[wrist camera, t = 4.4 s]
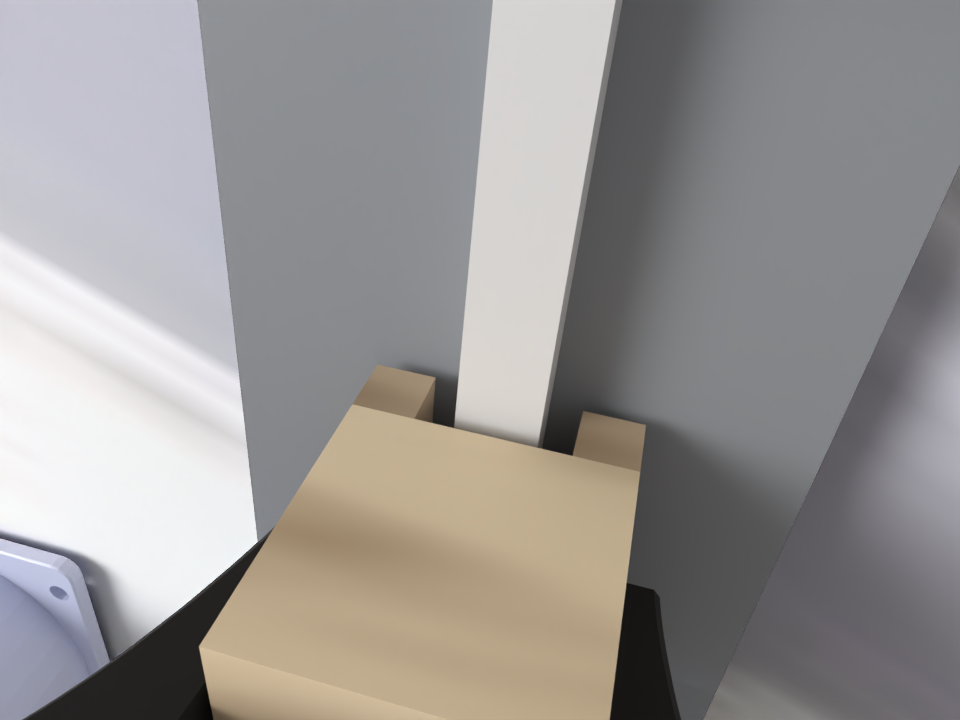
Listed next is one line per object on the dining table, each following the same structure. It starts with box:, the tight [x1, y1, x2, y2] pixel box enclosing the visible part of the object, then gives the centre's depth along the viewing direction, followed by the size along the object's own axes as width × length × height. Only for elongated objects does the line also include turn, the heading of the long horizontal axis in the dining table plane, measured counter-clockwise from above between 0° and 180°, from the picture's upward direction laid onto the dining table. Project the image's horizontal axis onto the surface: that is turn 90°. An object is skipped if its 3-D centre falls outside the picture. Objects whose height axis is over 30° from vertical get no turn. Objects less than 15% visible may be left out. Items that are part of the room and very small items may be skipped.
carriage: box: [199, 365, 646, 720], centre depth 11 cm, size 5×4×5 cm
